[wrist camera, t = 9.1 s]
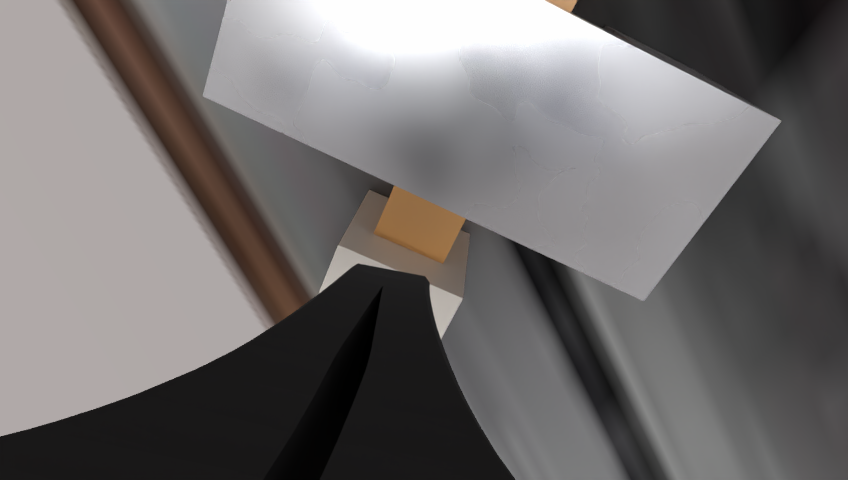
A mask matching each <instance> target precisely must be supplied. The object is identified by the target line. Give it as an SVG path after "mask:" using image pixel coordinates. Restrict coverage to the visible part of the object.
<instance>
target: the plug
mask: <svg viewBox="0 0 848 480" xmlns="http://www.w3.org/2000/svg"><path fill="white" fill-rule="evenodd" d="M548 1H550V2H552V3H554V4H556V5H558V6H560V7H562V8H563V9H565V10H567V11H569V12H572V10H573V8H574V6H575V4H576V2H577V0H548ZM465 220H466V218H463V217H461V216H459V215H457V214H455V213H453V212H451V211H448V210H446V209H444V208H442V207H440V206H438V205H435V204H433V203H431V202H429V201H427V200H425V199H423V198H420V197H418V196H416V195H414V194H412V193H410V192H408V191H405V190H403V189H401V188H399V187H397V186H395V185H394V187H393V190H392V192H391V194H390V197H389V198H387V197H385V196H382V195H380V194H378V193H376V192H373V191H371V190H369V191H368V193H367V194H366V196H365V198H364V200H363V201H362V203H361V205H360V207H359V209H358V210H357V212H356V214H355V216H354V217H353V219H352V221H351V223H350V225H349V226H348V228H347V230H346V232H345V233H344V235H343V237H342V239H341V241H340V242H339V244H338V246H337V249H336V251H335V254H334V256H333V259H332V261H331V264H330V266H329V269H328V271H327V274H326V276H325V279H324V281H323V284H322V286H321V289H320V291H319V293H320V292H322V291H323V290H324V289H326V288H327V287H328V286H329V285H331V284H332V283H333V282H334V281H336V280H337V279H338V278H339V277H340V276H342V275H343V274H344V273H345V272H346V271H348V270H349V269H350V268H351V267H353V266H354V265H356V264H358V263H359V264H364V265H369V266H374V267H380V268H385V269H390V270H395V271H401V272H406V273H411V274H417V275H422V276H425V277H426V278H427V279H428V281H429V282H430V299H431V305H432V309H433V314H434V318H435V322H436V326H437V329H438V332H439V335H440V338H442V336H443V334H444V333H445V331H446V329H447V327H448V325H449V323H450V322H451V320H452V318H453V316H454V314H455V313H456V311H457V309H458V307H459V305H460V303H461V302H462V300H463V295H464V286H465V277H466V267H467V258H468V249H469V240H470V234H469V233H467V232H464V231H462V230H460V229H461V228H462V226H463V224H464V222H465Z"/></svg>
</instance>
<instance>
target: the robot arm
mask: <svg viewBox="0 0 848 480" xmlns="http://www.w3.org/2000/svg"><path fill="white" fill-rule="evenodd" d="M0 480H515V478H514V477H513V476H512V474H511V473H510V471H509V470H508V469H507V467H506V466H505V464H504V463H503V462H502V460H501V459H500V458H499V456H498V455H497V453H496V452H495V450H494V448H493V447H492V445H491V443H490V442H489V440H488V439H487V437H486V435H485V434H484V432H483V430H482V429H481V427H480V425H479V423H478V422H477V420H476V418H475V416H474V414H473V413H472V411H471V409H470V407H469V405H468V403H467V401H466V399H465V397H464V395H463V393H462V391H461V389H460V387H459V385H458V382H457V380H456V378H455V375H454V373H453V371H452V368H451V366H450V364H449V361H448V358H447V356H446V353H445V350H444V347H443V344H442V341H441V338H440V335H439V332H438V329H437V326H436V322H435V318H434V314H433V309H432V305H431V299H430V282H429V281H428V279H427V278H426V277H425V276H422V275H417V274H411V273H406V272H401V271H395V270H390V269H385V268H380V267H374V266H369V265H364V264H359V263H358V264H356V265H354V266H353V267H351V268H350V269H349V270H348V271H346V272H345V273H344V274H343V275H342V276H340V277H339V278H338V279H337V280H336V281H334V282H333V283H332V284H331V285H329V286H328V287H327V288H326V289H324V290H323V291H322V292H320V293H319V294H318V295H317V296H315V297H314V298H313V299H311V300H310V301H309V302H307V303H306V304H304V305H303V306H302V307H300V308H299V309H298V310H296V311H295V312H294V313H292V314H291V315H289V316H288V317H287V318H285V319H284V320H282V321H280V322H279V323H277V324H276V325H274V326H273V327H271V328H270V329H268V330H266V331H265V332H263V333H262V334H260V335H259V336H257V337H256V338H254V339H253V340H251V341H249V342H247V343H246V344H244V345H242V346H241V347H239V348H237V349H235V350H234V351H232V352H230V353H228V354H226V355H224V356H222V357H220V358H218V359H216V360H214V361H212V362H210V363H208V364H206V365H204V366H202V367H200V368H198V369H196V370H193V371H191V372H188V373H186V374H184V375H181V376H179V377H176V378H174V379H172V380H169V381H167V382H165V383H162V384H160V385H158V386H155V387H153V388H150V389H148V390H145V391H143V392H141V393H138V394H136V395H133V396H130V397H128V398H125V399H122V400H119V401H116V402H114V403H111V404H108V405H105V406H102V407H100V408H96V409H93V410H90V411H87V412H84V413H81V414H78V415H75V416H71V417H69V418H65V419H62V420H59V421H56V422H52V423H49V424H46V425H42V426H38V427H35V428H32V429H28V430H24V431H20V432H16V433H12V434H8V435H4V436H1V437H0Z"/></svg>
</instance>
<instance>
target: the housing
mask: <svg viewBox="0 0 848 480" xmlns="http://www.w3.org/2000/svg"><path fill="white" fill-rule="evenodd" d="M203 97H205V98H207V99H210V100H212V101H214V102H216V103H218V104H220V105H223V106H225V107H227V108H229V109H231V110H233V111H235V112H238V113H240V114H242V115H244V116H246V117H248V118H251V119H253V120H255V121H257V122H259V123H261V124H263V125H266V126H268V127H270V128H272V129H274V130H276V131H278V132H281V133H283V134H285V135H287V136H289V137H291V138H294V139H296V140H298V141H300V142H302V143H304V144H306V145H309V146H311V147H313V148H315V149H317V150H319V151H321V152H324V153H326V154H328V155H330V156H332V157H334V158H337V159H339V160H341V161H343V162H345V163H347V164H349V165H352V166H354V167H356V168H358V169H360V170H362V171H364V172H367V173H369V174H371V175H373V176H375V177H377V178H380V179H382V180H384V181H386V182H388V183H390V184H392V185H395V186H397V187H399V188H401V189H403V190H405V191H408V192H410V193H412V194H414V195H416V196H418V197H420V198H423V199H425V200H427V201H429V202H431V203H433V204H435V205H438V206H440V207H442V208H444V209H446V210H448V211H451V212H453V213H455V214H457V215H459V216H461V217H463V218H466V219H468V220H470V221H472V222H474V223H476V224H478V225H481V226H483V227H485V228H487V229H489V230H491V231H494V232H496V233H498V234H500V235H502V236H504V237H506V238H509V239H511V240H513V241H515V242H517V243H519V244H521V245H524V246H526V247H528V248H530V249H532V250H534V251H537V252H539V253H541V254H543V255H545V256H547V257H549V258H552V259H554V260H556V261H558V262H560V263H562V264H565V265H567V266H569V267H571V268H573V269H575V270H577V271H580V272H582V273H584V274H586V275H588V276H590V277H592V278H595V279H597V280H599V281H601V282H603V283H605V284H608V285H610V286H612V287H614V288H616V289H618V290H620V291H623V292H625V293H627V294H629V295H631V296H633V297H635V298H638V299H640V300H642V301H644V300H645V299H646V298H647V296H648V295H649V294H650V292H651V291H652V290H653V288H654V287H655V286H656V285H657V283H658V282H659V281H660V279H661V278H662V277H663V275H664V274H665V273H666V271H667V270H668V269H669V267H670V266H671V265H672V264H673V262H674V261H675V260H676V258H677V257H678V256H679V254H680V253H681V252H682V250H683V249H684V248H685V247H686V245H687V244H688V243H689V241H690V240H691V239H692V237H693V236H694V235H695V233H696V232H697V231H698V230H699V228H700V227H701V226H702V224H703V223H704V222H705V220H706V219H707V218H708V216H709V215H710V214H711V212H712V211H713V210H714V209H715V207H716V206H717V205H718V203H719V202H720V201H721V199H722V198H723V197H724V195H725V194H726V193H727V192H728V190H729V189H730V188H731V186H732V185H733V184H734V182H735V181H736V180H737V178H738V177H739V176H740V175H741V173H742V172H743V171H744V169H745V168H746V167H747V165H748V164H749V163H750V161H751V160H752V159H753V158H754V156H755V155H756V154H757V152H758V151H759V150H760V148H761V147H762V146H763V144H764V143H765V142H766V140H767V139H768V138H769V137H770V135H771V134H772V133H773V131H774V130H775V129H776V127H777V126H778V125H779V123H780V122H781V120H779V119H777V118H776V117H774V116H772V115H771V114H769V113H767V112H765V111H764V110H762V109H760V108H759V107H757V106H755V105H753V104H752V103H750V102H748V101H747V100H745V99H743V98H741V97H740V96H738V95H736V94H735V93H733V92H731V91H729V90H728V89H726V88H724V87H723V86H721V85H719V84H718V83H716V82H714V81H712V80H711V79H709V78H707V77H706V76H704V75H702V74H700V73H699V72H697V71H695V70H694V69H692V68H690V67H688V66H686V65H684V64H682V63H680V62H678V61H676V60H674V59H672V58H670V57H668V56H666V55H664V54H662V53H660V52H658V51H656V50H654V49H652V48H650V47H649V46H647V45H645V44H643V43H641V42H639V41H637V40H635V39H633V38H631V37H629V36H627V35H625V34H623V33H621V32H619V31H617V30H615V29H613V28H611V27H609V26H607V25H605V26H604V28H601V27H599V26H597V25H595V24H593V23H591V22H589V21H587V20H585V19H583V18H581V17H579V16H577V15H575V14H573V13H571V12H569V11H567V10H565V9H563V8H562V7H560V6H558V5H556V4H554V3H552V2H550V1H548V0H228V1H227V5H226V9H225V13H224V16H223V20H222V24H221V28H220V32H219V36H218V39H217V43H216V47H215V51H214V55H213V58H212V62H211V66H210V70H209V74H208V78H207V81H206V85H205V89H204V93H203Z"/></svg>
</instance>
